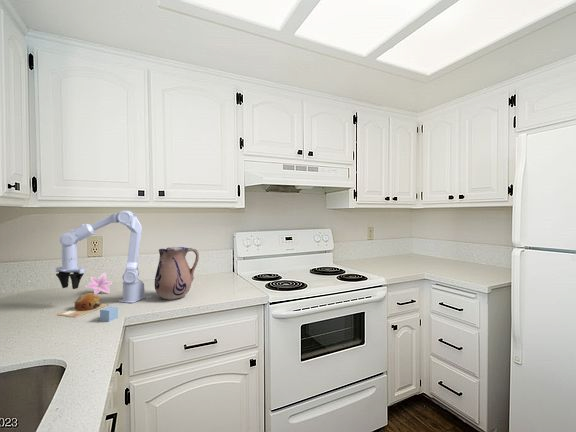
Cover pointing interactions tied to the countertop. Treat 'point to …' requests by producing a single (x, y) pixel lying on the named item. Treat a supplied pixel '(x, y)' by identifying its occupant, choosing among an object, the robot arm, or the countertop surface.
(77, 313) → the envelope
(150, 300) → the countertop surface
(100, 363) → the countertop surface
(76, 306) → the bread roll
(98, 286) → the lily
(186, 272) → the ceramic pitcher
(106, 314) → the blue cube
